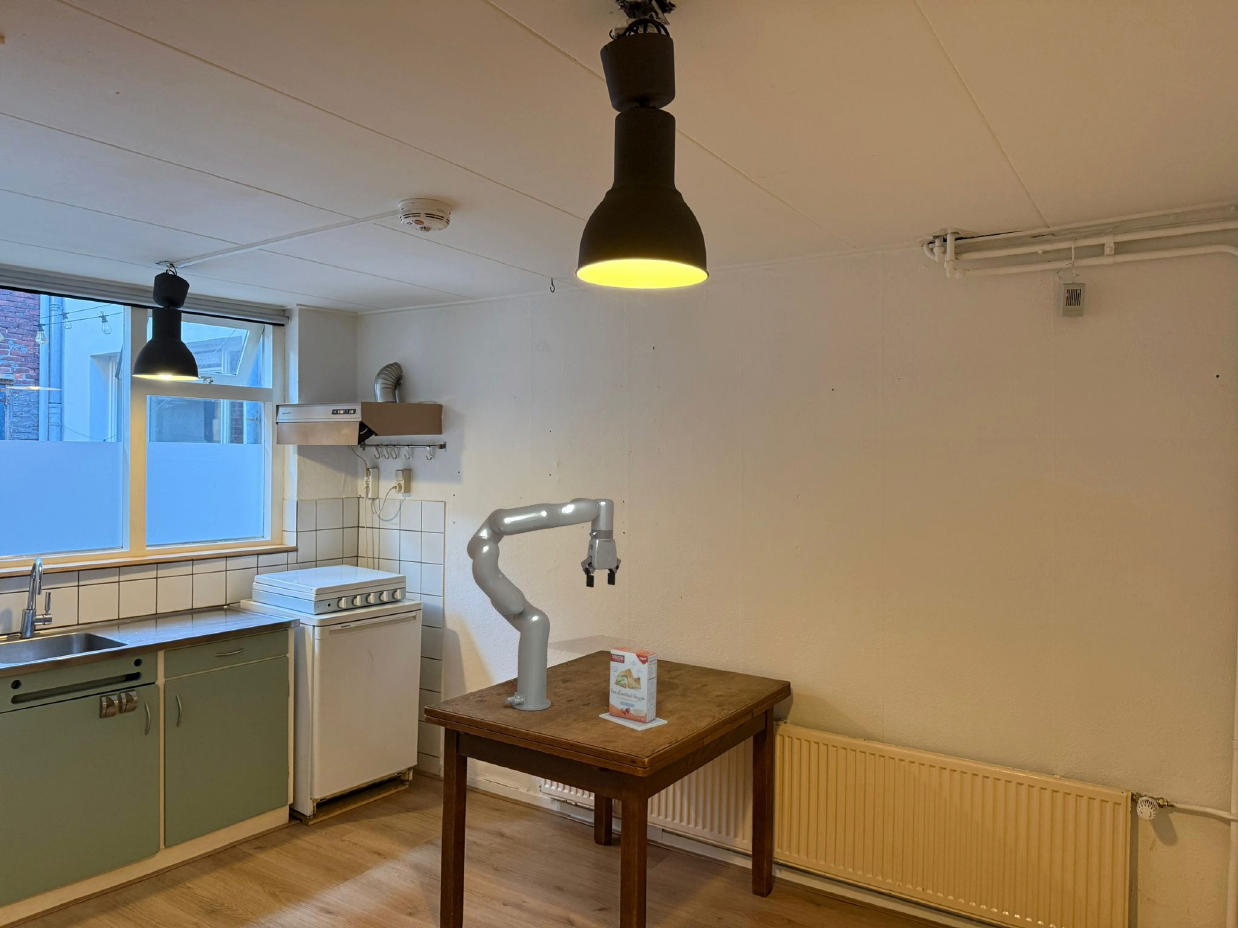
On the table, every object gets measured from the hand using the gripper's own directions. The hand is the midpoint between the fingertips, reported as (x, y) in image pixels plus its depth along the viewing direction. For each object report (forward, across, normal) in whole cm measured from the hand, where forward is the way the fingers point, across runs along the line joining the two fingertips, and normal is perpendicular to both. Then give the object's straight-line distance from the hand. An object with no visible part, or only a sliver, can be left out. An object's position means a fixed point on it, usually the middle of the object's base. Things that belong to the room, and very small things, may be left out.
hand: (600, 585), depth 279 cm
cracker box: (+38, -7, -24) cm, 45 cm away
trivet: (+38, -7, -24) cm, 46 cm away
